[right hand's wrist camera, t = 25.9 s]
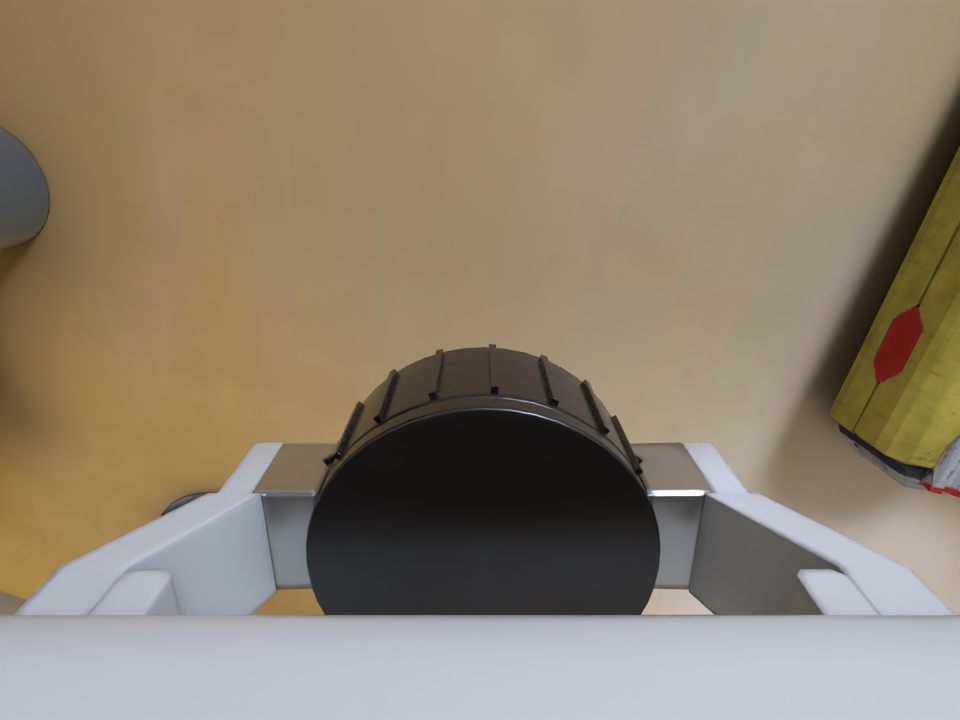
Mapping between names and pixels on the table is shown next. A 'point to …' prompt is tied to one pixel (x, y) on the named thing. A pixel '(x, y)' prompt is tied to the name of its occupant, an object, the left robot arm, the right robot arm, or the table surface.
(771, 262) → the table surface
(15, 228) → the grey cylindrical piece
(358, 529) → the lid
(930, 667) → the right robot arm
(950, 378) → the toy gun
